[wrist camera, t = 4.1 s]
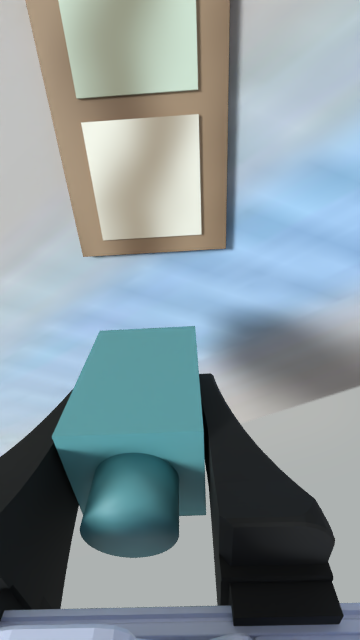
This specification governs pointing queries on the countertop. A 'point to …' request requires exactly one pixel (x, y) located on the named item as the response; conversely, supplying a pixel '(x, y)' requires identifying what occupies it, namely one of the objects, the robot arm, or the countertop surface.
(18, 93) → the countertop surface
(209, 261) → the countertop surface
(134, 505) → the pawn
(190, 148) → the board
